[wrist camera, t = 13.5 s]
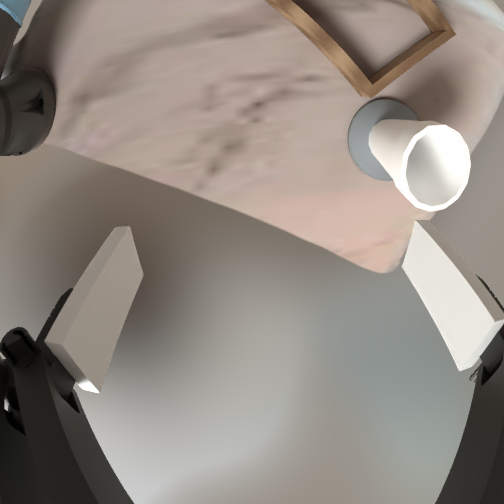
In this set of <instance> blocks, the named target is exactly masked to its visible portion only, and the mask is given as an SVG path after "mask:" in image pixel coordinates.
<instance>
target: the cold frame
mask: <svg viewBox="0 0 504 504" xmlns="http://www.w3.org/2000/svg"><path fill="white" fill-rule="evenodd" d="M265 1H267V2H268V3H269V4H270V5H272V6H273V7H274V8H275V9H276V10H278V11H279V12H280V13H281V14H282V15H283V16H285V17H286V18H287V19H288V20H289V21H290V22H291V23H293V24H294V25H295V26H296V27H297V28H298V29H299V30H300V31H301V32H302V33H303V34H304V35H305V36H306V37H308V38H309V39H310V40H311V41H312V42H313V43H314V44H315V45H316V46H317V47H318V48H319V49H320V50H321V51H322V53H323V54H324V55H325V56H326V57H327V58H328V59H329V60H330V61H331V62H332V63H333V64H334V65H335V66H336V68H337V69H338V70H339V71H340V72H341V73H342V74H343V75H344V77H345V78H346V79H347V80H348V81H349V82H350V84H351V85H352V86H353V87H354V88H355V90H356V91H357V92H358V93H359V95H360V96H364V97H370V98H372V97H373V96H375V95H376V94H377V93H378V92H380V91H381V90H382V89H384V88H385V87H386V86H387V85H389V84H390V83H391V82H393V81H394V80H395V79H396V78H398V77H399V76H400V75H402V74H403V73H404V72H406V71H407V70H408V69H409V68H411V67H412V66H413V65H415V64H416V63H417V62H419V61H420V60H421V59H423V58H424V57H426V56H427V55H428V54H430V53H431V52H432V51H434V50H435V49H436V48H438V47H439V46H441V45H442V44H443V43H445V42H446V41H448V40H449V39H450V38H452V37H453V36H455V35H456V34H455V32H454V31H453V29H452V28H451V26H450V25H449V23H448V22H447V20H446V19H445V17H444V16H443V15H442V13H441V12H440V11H439V9H438V8H437V7H436V5H435V4H434V3H433V1H432V0H407V1H408V2H409V3H410V4H411V6H412V7H413V8H414V9H415V10H416V12H417V13H418V14H419V16H420V17H421V18H422V19H423V21H424V22H425V23H426V25H427V26H428V27H429V29H430V30H431V32H432V33H430V34H429V35H428V36H426V37H425V38H423V39H422V40H420V41H419V42H418V43H416V44H415V45H413V46H412V47H410V48H409V49H408V50H406V51H405V52H404V53H402V54H401V55H399V56H398V57H397V58H395V59H394V60H393V61H391V62H390V63H389V64H387V65H386V66H385V67H383V68H382V69H381V70H379V71H378V72H377V73H375V74H374V75H373V76H371V77H370V78H369V79H367V77H366V76H365V75H364V74H363V72H362V71H361V70H360V69H359V68H358V66H357V65H356V64H355V63H354V62H353V61H352V59H351V58H350V57H349V56H348V55H347V54H346V53H345V52H344V51H343V49H342V48H341V47H340V46H339V45H338V44H337V43H336V42H335V41H334V40H333V39H332V38H331V37H330V36H329V35H328V34H327V33H326V32H325V31H324V30H323V29H322V28H321V27H320V26H319V25H318V24H317V23H316V22H315V21H314V20H313V19H312V18H311V17H310V16H309V15H308V14H306V13H305V12H304V11H303V10H302V9H301V8H300V7H299V6H297V5H296V4H295V3H294V2H293V1H292V0H265Z"/></svg>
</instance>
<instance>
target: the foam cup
mask: <svg viewBox="0 0 504 504" xmlns="http://www.w3.org/2000/svg"><path fill="white" fill-rule="evenodd" d="M369 146H370V149H371V152H372V153H373V155H374V156H375V157H376V159H377V160H378V161H379V162H380V164H381V165H382V166H383V167H384V169H385V170H386V171H387V172H388V174H389V175H390V176H391V178H392V179H393V180H394V182H395V186H396V187H397V188H398V189H399V190H400V191H401V192H402V194H403V195H404V196H405V197H406V198H407V199H408V200H409V201H410V202H411V203H412V204H413V205H414V206H415V207H418V208H421V209H424V210H427V211H429V212H431V211H436V210H441V209H445V208H446V207H448V206H449V205H451V204H452V203H453V202H454V201H456V200H457V199H458V198H459V196H460V195H461V193H462V191H463V190H464V188H465V186H466V185H467V182H468V178H469V172H470V167H471V162H470V156H469V150H468V146H467V145H466V143H465V141H464V140H463V138H462V137H461V135H460V134H459V132H457V131H455V130H453V129H452V128H450V127H448V126H446V125H444V124H441V123H439V122H436V121H413V120H399V119H387V120H381V121H379V122H378V123H377V124H375V125H374V126H373V128H372V130H371V132H370V133H369Z"/></svg>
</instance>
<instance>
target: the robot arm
mask: <svg viewBox="0 0 504 504" xmlns="http://www.w3.org/2000/svg"><path fill="white" fill-rule="evenodd" d="M30 3H31V0H0V79H1V76H2V73H3V70H4V67H5V64H6V61H7V58H8V56H9V53H10V50H11V48H12V45H13V42H14V40H15V38H16V35H17V33H18V31H19V28H21V26H22V21H23V18H24V16H25V14H26V12H27V10H28V7H29V5H30ZM54 112H55V97H54V91H53V87H52V84H51V82H50V80H49V78H48V77H47V75H46V74H45V73H44V72H42V71H41V70H39V69H37V68H24V69H19V70H16V71H14V72H13V73H11V74H10V75H8V76H7V77H5V78H4V79H2V80H0V156H11V155H14V156H18V155H24V154H26V153H28V152H30V151H33V150H34V149H36V148H38V147H39V146H40V145H41V144H42V143H43V142H44V140H45V139H46V137H47V135H48V133H49V131H50V129H51V126H52V123H53V118H54ZM402 268H403V269H404V271H405V273H406V274H407V276H408V277H409V279H410V281H411V282H412V284H413V285H414V287H415V289H416V290H417V292H418V294H419V295H420V297H421V299H422V300H423V302H424V304H425V306H426V307H427V309H428V311H429V313H430V315H431V316H432V318H433V320H434V322H435V324H436V325H437V327H438V329H439V331H440V333H441V335H442V337H443V339H444V340H445V343H446V345H447V346H448V349H449V351H450V353H451V355H452V357H453V359H454V361H455V363H456V365H457V367H458V369H459V371H461V370H464V369H466V368H470V367H472V366H473V364H474V363H475V362H476V361H477V360H478V359H479V357H480V358H481V360H482V363H481V364H480V366H479V367H478V368H477V369H476V370H475V372H474V373H473V374H472V375H471V377H470V379H469V380H470V381H471V380H472V379H473V378H474V377H475V375H477V378H476V380H475V381H474V382H475V383H476V384H475V390H474V394H473V399H472V403H471V407H470V411H469V415H468V419H467V422H466V426H465V429H464V433H463V436H462V439H461V442H460V446H459V448H458V451H457V454H456V457H455V459H454V462H453V465H452V468H451V470H450V473H449V475H448V477H447V480H446V482H445V484H444V486H443V488H442V491H441V493H440V495H439V497H438V499H437V501H436V503H435V504H504V308H503V307H502V305H501V304H500V302H499V301H498V299H497V298H495V297H494V294H493V293H492V291H490V289H489V287H488V286H487V285H486V283H485V282H484V281H483V280H482V279H481V278H480V277H478V276H477V275H476V274H475V273H474V272H473V271H472V270H471V268H470V267H469V266H468V265H467V264H466V262H465V261H464V260H463V259H462V258H461V256H460V255H459V254H458V253H457V252H456V251H455V250H454V248H453V247H452V246H451V245H450V244H449V243H448V242H447V240H446V239H445V238H444V237H443V236H442V235H441V234H440V233H439V232H438V231H437V230H436V229H435V228H434V226H433V225H432V224H430V222H429V221H428V220H415V224H414V228H413V232H412V235H411V239H410V242H409V246H408V249H407V252H406V256H405V259H404V262H403V265H402ZM142 278H143V272H142V268H141V265H140V262H139V258H138V255H137V251H136V248H135V244H134V241H133V237H132V233H131V229H130V226H127V227H115V228H114V230H113V231H112V232H111V234H110V235H109V237H108V238H107V239H106V241H105V242H104V244H103V245H102V246H101V248H100V250H99V251H98V252H97V254H96V255H95V257H94V258H93V260H92V261H91V263H90V264H89V266H88V267H87V269H86V270H85V272H84V273H83V275H82V276H81V278H80V280H79V281H78V283H77V284H76V286H75V288H74V289H73V288H70V289H69V290H68V291H66V292H65V293H64V294H63V295H62V296H61V297H60V299H59V301H58V302H57V304H56V306H55V308H54V309H53V311H52V313H51V314H50V315H51V316H50V317H49V318H48V319H47V321H46V323H45V325H44V326H43V328H42V330H41V332H40V334H39V336H38V337H37V340H36V341H34V340H33V338H32V337H31V336H30V334H29V333H28V331H27V330H26V329H24V328H22V327H17V328H14V329H12V330H10V331H9V332H8V333H7V334H6V335H5V336H4V337H3V338H2V341H1V343H0V352H1V353H2V354H3V355H4V356H5V358H6V359H2V358H1V356H0V504H134V503H133V501H132V500H131V498H130V497H129V495H128V494H127V492H126V491H125V489H124V488H123V486H122V484H121V483H120V481H119V479H118V478H117V476H116V474H115V473H114V471H113V469H112V468H111V466H110V464H109V462H108V460H107V459H106V457H105V455H104V453H103V451H102V449H101V447H100V445H99V443H98V441H97V439H96V437H95V435H94V433H93V431H92V429H91V427H90V424H89V422H88V420H87V418H86V415H85V413H84V411H83V408H82V406H81V403H80V401H79V398H78V396H77V393H76V392H75V390H74V389H73V386H74V384H75V381H76V382H77V383H78V385H79V386H80V387H81V388H82V389H83V390H88V391H92V392H97V393H100V391H101V388H102V385H103V381H104V378H105V375H106V372H107V369H108V366H109V363H110V360H111V357H112V354H113V352H114V348H115V346H116V343H117V340H118V338H119V335H120V332H121V330H122V327H123V324H124V321H125V319H126V317H127V314H128V311H129V309H130V306H131V304H132V302H133V299H134V296H135V294H136V292H137V289H138V287H139V284H140V282H141V280H142ZM4 402H5V403H7V404H8V411H6V410H5V409H4Z"/></svg>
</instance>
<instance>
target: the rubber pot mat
mask: <svg viewBox="0 0 504 504" xmlns="http://www.w3.org/2000/svg"><path fill="white" fill-rule="evenodd" d="M387 119H399V120H413V121H419V120H418V118H417V117H416V115H415V114H414V113H413V111H412V110H411V109H409V108H408V107H407V106H405V105H404V104H402V103H400V102H398V101H394V100H389V99H379V100H374V101H371V102H369V103H367V104H366V105H364V106H363V107H362V108H361V109H359V110H358V112H357V113H356V114H355V116H354V117H353V119H352V121H351V124H350V127H349V131H348V146H349V151H350V154H351V156H352V158H353V160H354V162H355V163H356V165H357V166H358V167H359V168H360V169H361V170H362V171H363V172H364V173H365V174H367V175H368V176H370V177H372V178H374V179H378V180H382V181H390V180H393V179H392V178H391V176H390V175H389V174H388V172H387V171H386V170H385V169H384V167H383V166H382V165H381V164H380V162H379V161H378V160H377V159H376V157H375V156H374V155H373V153H372V152H371V149H370V146H369V133H370V132H371V130H372V128H373V126H374V125H375V124H377V123H378V122H379V121H381V120H387Z"/></svg>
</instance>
